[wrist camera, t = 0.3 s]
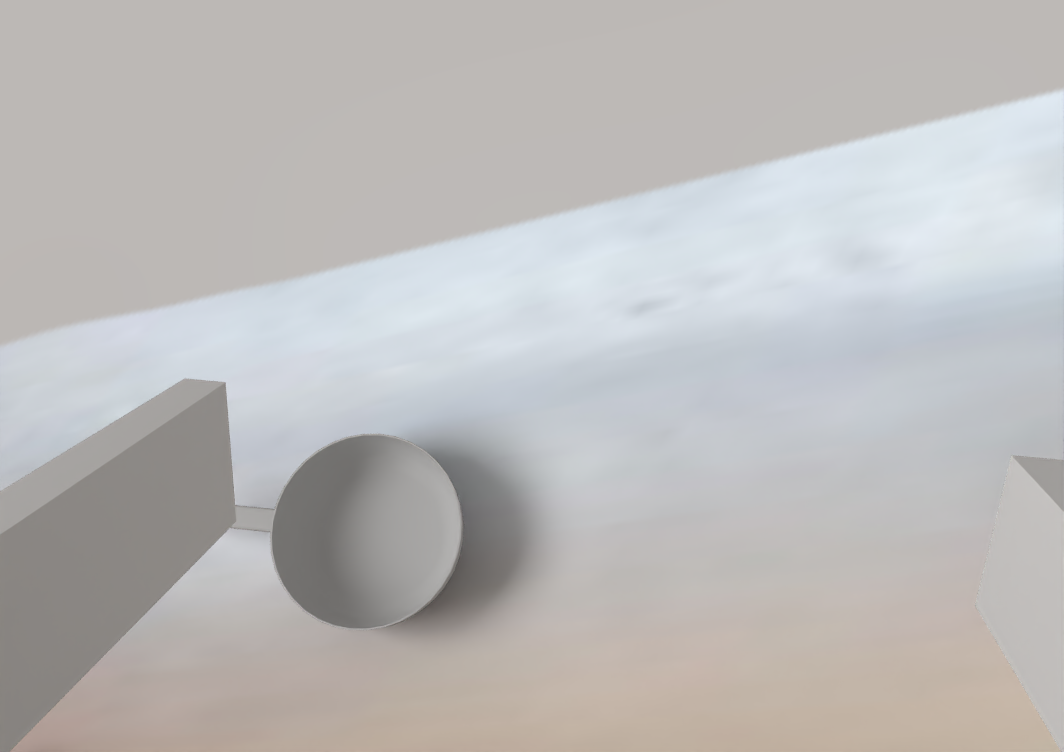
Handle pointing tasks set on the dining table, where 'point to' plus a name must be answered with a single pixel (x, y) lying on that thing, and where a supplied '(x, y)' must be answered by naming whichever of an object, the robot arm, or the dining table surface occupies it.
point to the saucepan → (363, 532)
